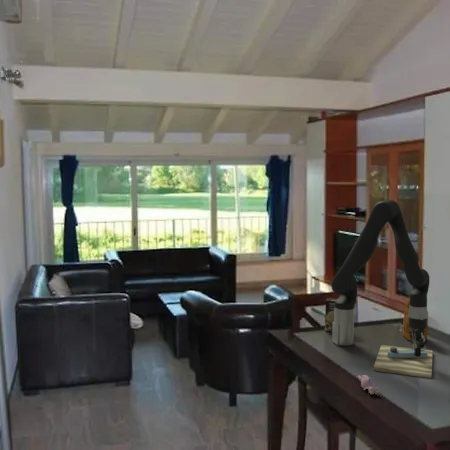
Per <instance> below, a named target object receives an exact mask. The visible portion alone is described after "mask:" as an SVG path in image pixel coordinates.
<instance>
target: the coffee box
mask: <svg viewBox="0 0 450 450" xmlns="http://www.w3.org/2000/svg"><path fill="white" fill-rule="evenodd" d="M337 299H338V298H332V297H327V298H326V300H325V312H324V313H325V317H324V331H325V332H331V333H332V323H333V322H334V310H335V301H336V300H337Z"/></svg>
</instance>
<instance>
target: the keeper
mask: <svg viewBox="0 0 450 450" xmlns="http://www.w3.org/2000/svg"><path fill="white" fill-rule="evenodd" d="M410 345H411V348H412V350H414V344H412V342H411V341H410ZM425 349H427V345H425V346H424V348H421V350H425Z"/></svg>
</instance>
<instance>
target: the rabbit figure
mask: <svg viewBox="0 0 450 450" xmlns="http://www.w3.org/2000/svg"><path fill="white" fill-rule="evenodd" d="M357 377H358V380H359V381H360V386H361V388H362V389H363V391H366V389H368V390H367V391H368V394H369V393H370V394H374V393H375V394H378V396H379V395H380V396H381V393H380V391H379V390H380V387H375V383H374V382H373V378H372V377H370V376H369V375H367V374H362V375H360V374H359V375H357Z"/></svg>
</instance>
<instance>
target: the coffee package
mask: <svg viewBox="0 0 450 450" xmlns="http://www.w3.org/2000/svg"><path fill="white" fill-rule="evenodd" d="M409 307H410V297H409V298H408V300H407V303H406V304H405V308H404V314H403V319H402V324H403V325H402V326H403V327H402V336H403V337H405V339H406V340H408V341H409V342H411V338H410V334H409V331H412V328H411V327H409ZM428 324H429V318H428V319H427V328H425V329H424V338H427V339H428V330H429V327H428Z"/></svg>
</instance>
